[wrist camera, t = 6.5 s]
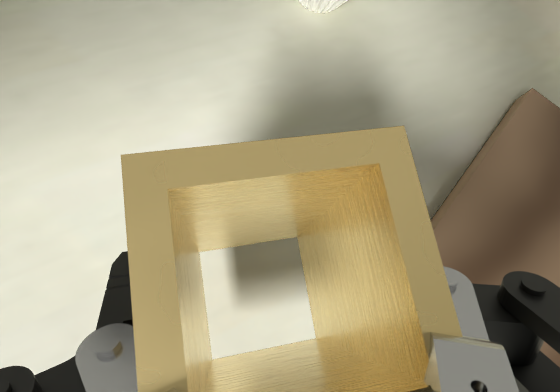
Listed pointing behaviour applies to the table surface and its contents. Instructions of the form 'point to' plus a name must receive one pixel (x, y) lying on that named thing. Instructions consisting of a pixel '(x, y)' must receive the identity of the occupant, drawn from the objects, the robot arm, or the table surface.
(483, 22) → the table surface
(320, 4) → the muffin
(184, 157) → the wooden sleeve
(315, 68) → the table surface
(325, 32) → the table surface
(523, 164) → the post board
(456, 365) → the robot arm
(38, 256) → the table surface
